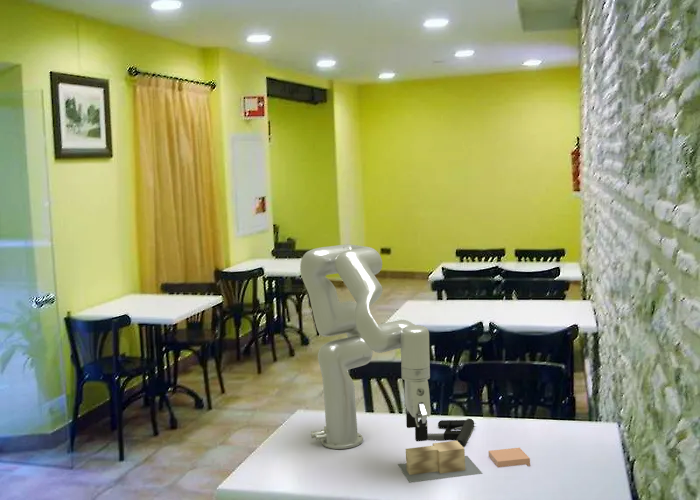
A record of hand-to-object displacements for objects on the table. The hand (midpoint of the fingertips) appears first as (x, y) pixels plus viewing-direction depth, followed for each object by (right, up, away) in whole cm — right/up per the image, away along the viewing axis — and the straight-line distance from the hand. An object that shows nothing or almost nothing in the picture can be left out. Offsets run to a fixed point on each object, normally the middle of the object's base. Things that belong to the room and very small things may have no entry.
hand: (416, 433), depth 200 cm
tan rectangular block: (+21, -8, +3) cm, 23 cm away
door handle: (+12, -8, +27) cm, 31 cm away
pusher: (+5, -10, +1) cm, 11 cm away
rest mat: (+6, -10, +1) cm, 12 cm away
